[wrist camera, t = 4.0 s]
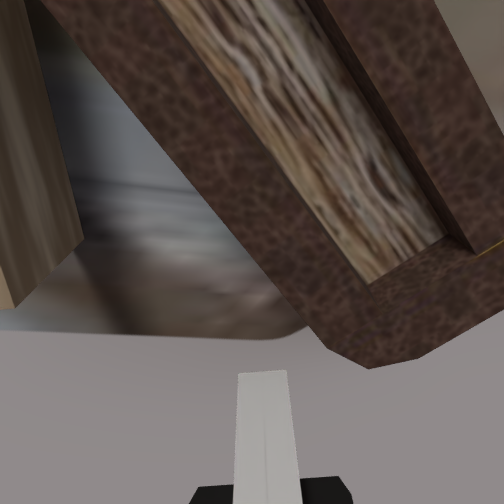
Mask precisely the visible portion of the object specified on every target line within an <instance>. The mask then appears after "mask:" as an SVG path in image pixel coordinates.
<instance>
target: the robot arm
mask: <svg viewBox="0 0 504 504" xmlns="http://www.w3.org/2000/svg"><path fill="white" fill-rule="evenodd" d="M189 504H353V500H352V496H351V493H350V492H349V490H348V489H347V488H346V486H345V485H344V483H343V482H342V481H341V479H340V478H339V476H332V477H319V478H303V479H300V478H299V471H298V463H297V454H296V446H295V437H294V429H293V421H292V413H291V405H290V396H289V388H288V380H287V371H286V370H275V371H262V372H249V373H239V374H238V398H237V420H236V444H235V469H234V484H233V485H219V486H205V487H198V489H197V490H196V492H195V494H194V496H193V498H192V499H191V501H190V503H189Z"/></svg>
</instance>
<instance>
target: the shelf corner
mask: <svg viewBox="0 0 504 504" xmlns="http://www.w3.org/2000/svg"><path fill="white" fill-rule="evenodd" d="M83 240H84V235H83V231H82V227H81V223H80V219H79V215H78V211H77V207H76V203H75V199H74V196H73V192H72V188H71V184H70V180H69V176H68V172H67V168H66V164H65V160H64V156H63V152H62V148H61V144H60V141H59V137H58V133H57V129H56V125H55V121H54V117H53V113H52V109H51V105H50V101H49V97H48V93H47V89H46V85H45V82H44V78H43V74H42V70H41V66H40V62H39V58H38V54H37V50H36V46H35V42H34V38H33V34H32V30H31V27H30V23H29V19H28V15H27V11H26V7H25V3H24V0H0V310H2V309H13V308H16V307H17V306H18V305H19V304H20V303H21V302H22V301H23V300H24V299H25V298H26V297H27V296H28V295H29V294H30V293H31V292H32V291H33V290H34V289H35V288H36V287H37V286H38V285H39V284H40V283H41V282H42V281H43V280H44V279H45V278H46V277H47V276H48V275H49V274H50V273H51V272H52V271H53V270H54V269H55V268H56V267H57V266H58V265H59V264H60V263H61V262H62V261H63V260H64V259H65V258H66V257H67V256H68V255H69V254H70V253H71V252H72V251H73V250H74V249H75V248H76V247H77V246H78V245H79V244H80V243H81V242H82V241H83Z"/></svg>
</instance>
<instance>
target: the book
mask: <svg viewBox="0 0 504 504" xmlns="http://www.w3.org/2000/svg"><path fill="white" fill-rule="evenodd" d="M41 2H42V3H43V4H44V5H45V7H46V8H47V9H48V10H49V11H50V13H51V14H52V15H53V16H54V17H55V19H56V20H57V21H58V22H59V24H60V25H61V26H62V27H63V28H64V30H65V31H66V32H67V33H68V34H69V36H70V37H71V38H72V39H73V41H74V42H75V43H76V44H77V45H78V47H79V48H80V49H81V50H82V51H83V53H84V54H85V55H86V56H87V58H88V59H89V60H90V61H91V62H92V64H93V65H94V66H95V67H96V68H97V70H98V71H99V72H100V73H101V75H102V76H103V77H104V78H105V79H106V81H107V82H108V83H109V84H110V85H111V87H112V88H113V89H114V90H115V92H116V93H117V94H118V95H119V96H120V98H121V99H122V100H123V101H124V102H125V104H126V105H127V106H128V107H129V109H130V110H131V111H132V112H133V113H134V115H135V116H136V117H137V118H138V119H139V121H140V122H141V123H142V124H143V126H144V127H145V128H146V129H147V130H148V132H149V133H150V134H151V135H152V136H153V138H154V139H155V140H156V141H157V142H158V144H159V145H160V146H161V147H162V149H163V150H164V151H165V152H166V153H167V155H168V156H169V157H170V158H171V159H172V161H173V162H174V163H175V164H176V166H177V167H178V168H179V169H180V170H181V172H182V173H183V174H184V175H185V176H186V178H187V179H188V180H189V181H190V183H191V184H192V185H193V186H194V187H195V189H196V190H197V191H198V192H199V193H200V195H201V196H202V197H203V198H204V200H205V201H206V202H207V203H208V204H209V206H210V207H211V208H212V209H213V210H214V212H215V213H216V214H217V215H218V217H219V218H220V219H221V220H222V221H223V223H224V224H225V225H226V226H227V227H228V229H229V230H230V231H231V232H232V234H233V235H234V236H235V237H236V238H237V240H238V241H239V242H240V243H241V244H242V246H243V247H244V248H245V249H246V251H247V252H248V253H249V254H250V255H251V257H252V258H253V259H254V260H255V261H256V263H257V264H258V265H259V266H260V268H261V269H262V270H263V271H264V272H265V274H266V275H267V276H268V277H269V278H270V280H271V281H272V282H273V283H274V284H275V286H276V287H277V288H278V289H279V291H280V292H281V293H282V294H283V295H284V297H285V298H286V299H287V300H288V301H289V303H290V304H291V305H292V306H293V308H294V309H295V310H296V311H297V312H298V314H299V315H300V316H301V317H302V318H303V320H304V321H305V322H306V323H307V325H308V326H309V327H310V328H311V329H312V331H313V332H314V333H315V334H316V335H317V337H318V338H319V339H320V340H321V342H322V343H323V344H324V345H325V346H326V348H328V349H329V350H331V351H333V352H335V353H337V354H339V355H341V356H343V357H345V358H347V359H349V360H351V361H353V362H355V363H357V364H359V365H361V366H363V367H365V368H367V369H372V368H377V367H381V366H386V365H391V364H395V363H400V362H405V361H409V360H414V359H418V358H420V357H422V356H424V355H425V354H427V353H429V352H431V351H432V350H434V349H436V348H438V347H439V346H441V345H443V344H445V343H446V342H448V341H450V340H452V339H453V338H455V337H456V336H458V335H460V334H462V333H464V332H465V331H467V330H469V329H471V328H472V327H474V326H476V325H477V324H479V323H481V322H483V321H485V320H486V319H488V318H490V317H492V316H493V315H495V314H497V313H498V312H500V311H502V310H504V135H503V133H502V132H501V130H500V128H499V126H498V124H497V122H496V120H495V118H494V116H493V114H492V112H491V110H490V108H489V106H488V104H487V103H486V101H485V99H484V97H483V95H482V93H481V91H480V89H479V87H478V85H477V83H476V81H475V79H474V77H473V76H472V74H471V72H470V70H469V68H468V66H467V64H466V62H465V60H464V58H463V56H462V54H461V52H460V50H459V48H458V47H457V45H456V43H455V41H454V39H453V37H452V35H451V33H450V31H449V29H448V27H447V25H446V23H445V21H444V20H443V18H442V16H441V14H440V12H439V10H438V8H437V6H436V4H435V2H434V0H41Z"/></svg>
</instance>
